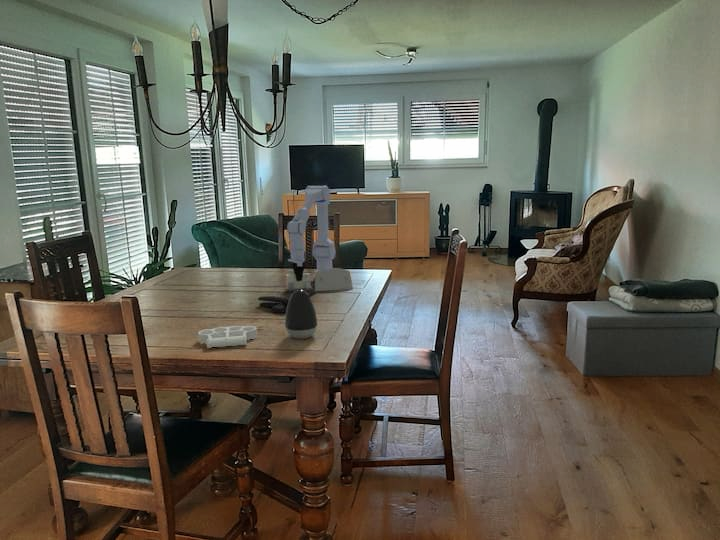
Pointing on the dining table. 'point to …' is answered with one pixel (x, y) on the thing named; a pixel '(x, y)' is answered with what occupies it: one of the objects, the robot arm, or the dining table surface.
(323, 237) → the robot arm
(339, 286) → the grey curved block
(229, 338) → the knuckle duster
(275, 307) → the can opener
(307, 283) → the clip bracket
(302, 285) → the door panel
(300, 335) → the dark grey tapered dome
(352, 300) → the dining table surface
